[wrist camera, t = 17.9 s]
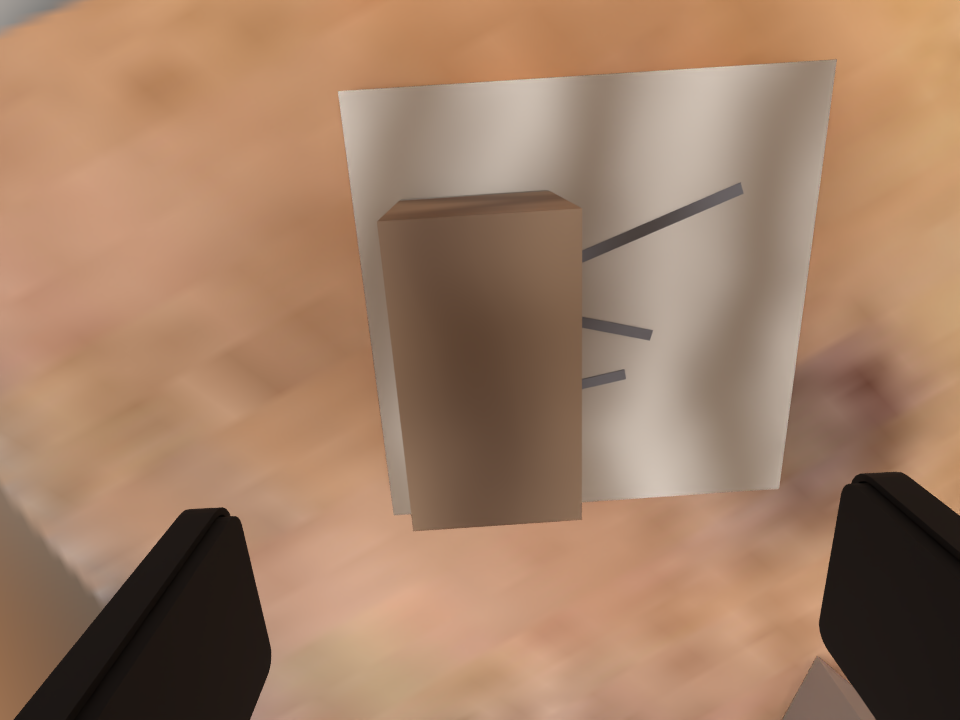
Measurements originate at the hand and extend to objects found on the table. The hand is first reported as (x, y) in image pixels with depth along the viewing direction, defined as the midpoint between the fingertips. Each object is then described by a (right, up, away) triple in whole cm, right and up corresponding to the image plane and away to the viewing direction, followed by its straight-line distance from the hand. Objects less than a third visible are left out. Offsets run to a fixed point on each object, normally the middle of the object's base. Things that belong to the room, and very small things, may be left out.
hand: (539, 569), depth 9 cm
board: (+3, +6, +14) cm, 16 cm away
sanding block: (-1, +5, +12) cm, 13 cm away
